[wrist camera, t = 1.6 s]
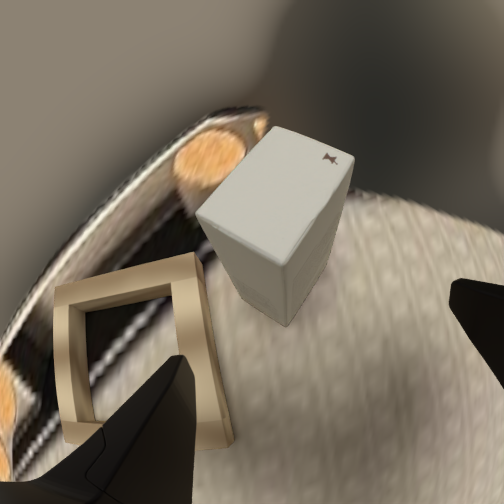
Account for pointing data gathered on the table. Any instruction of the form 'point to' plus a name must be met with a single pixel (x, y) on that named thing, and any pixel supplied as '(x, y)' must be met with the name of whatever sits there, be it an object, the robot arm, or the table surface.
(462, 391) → the table surface
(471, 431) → the table surface
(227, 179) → the skincare box
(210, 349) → the wooden picture frame
